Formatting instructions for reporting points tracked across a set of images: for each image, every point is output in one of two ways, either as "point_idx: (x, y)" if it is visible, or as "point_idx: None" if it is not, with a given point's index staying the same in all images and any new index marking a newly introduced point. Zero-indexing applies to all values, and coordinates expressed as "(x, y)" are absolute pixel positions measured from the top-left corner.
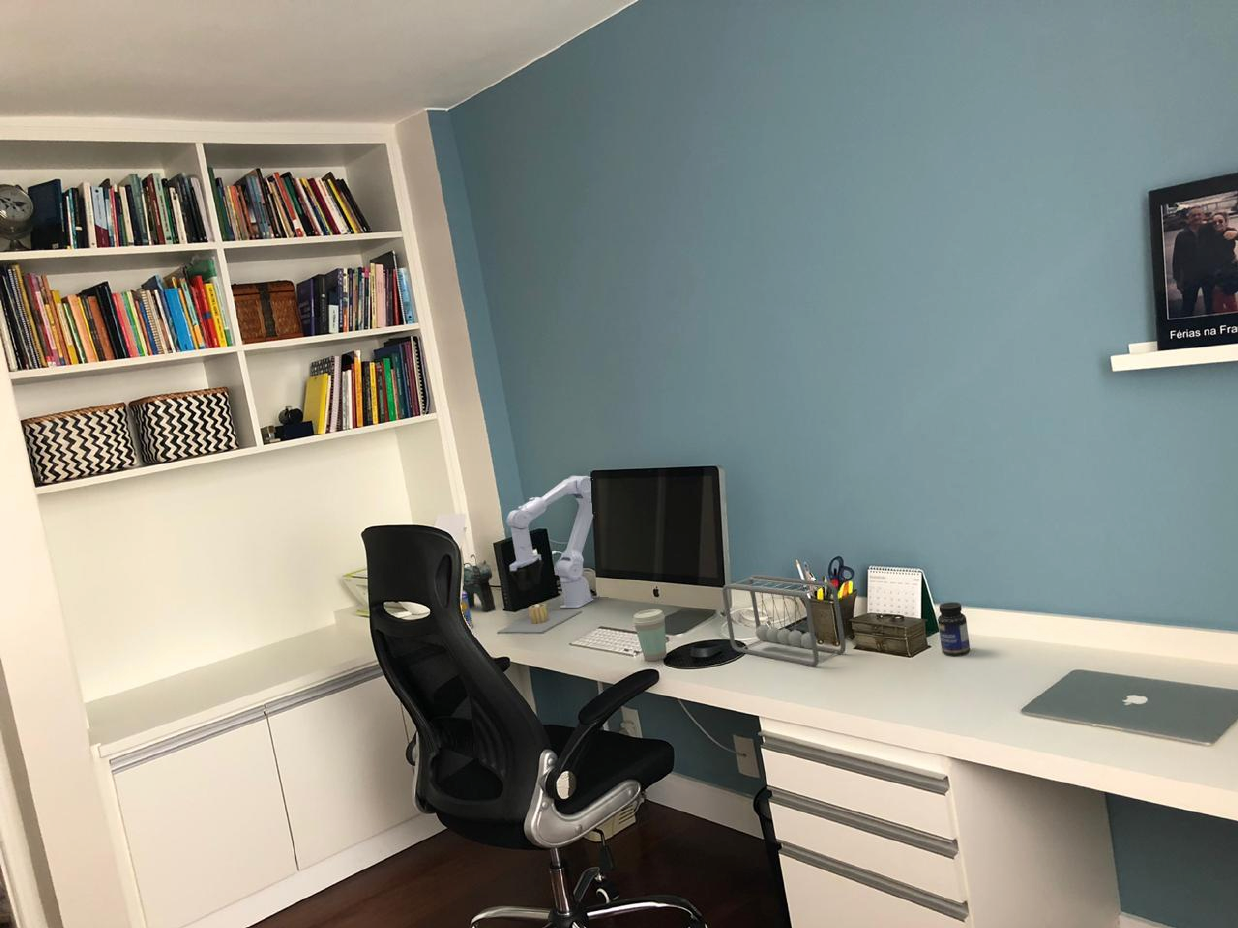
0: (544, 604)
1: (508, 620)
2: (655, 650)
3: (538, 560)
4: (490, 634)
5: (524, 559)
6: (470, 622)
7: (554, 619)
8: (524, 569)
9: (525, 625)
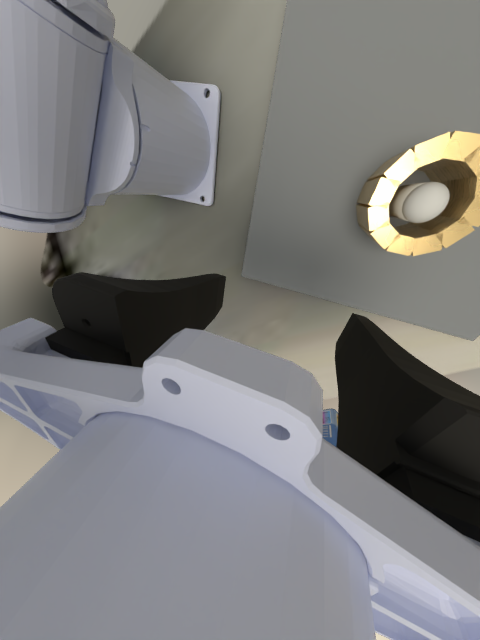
0: (414, 158)
1: (297, 341)
2: None
3: (64, 336)
4: (460, 357)
5: (368, 627)
6: (337, 423)
7: (414, 112)
8: (464, 427)
9: (440, 250)
